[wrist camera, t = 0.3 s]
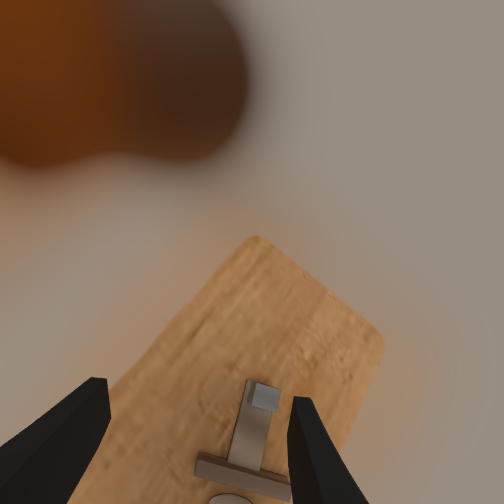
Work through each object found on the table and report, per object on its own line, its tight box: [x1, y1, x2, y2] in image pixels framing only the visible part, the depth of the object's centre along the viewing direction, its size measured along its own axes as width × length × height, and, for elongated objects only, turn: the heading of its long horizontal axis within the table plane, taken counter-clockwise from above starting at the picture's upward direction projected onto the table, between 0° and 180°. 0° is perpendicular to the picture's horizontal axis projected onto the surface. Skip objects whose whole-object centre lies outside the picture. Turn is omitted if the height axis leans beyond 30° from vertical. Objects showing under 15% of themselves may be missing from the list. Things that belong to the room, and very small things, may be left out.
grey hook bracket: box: [194, 380, 292, 503], centre depth 33 cm, size 11×11×5 cm
